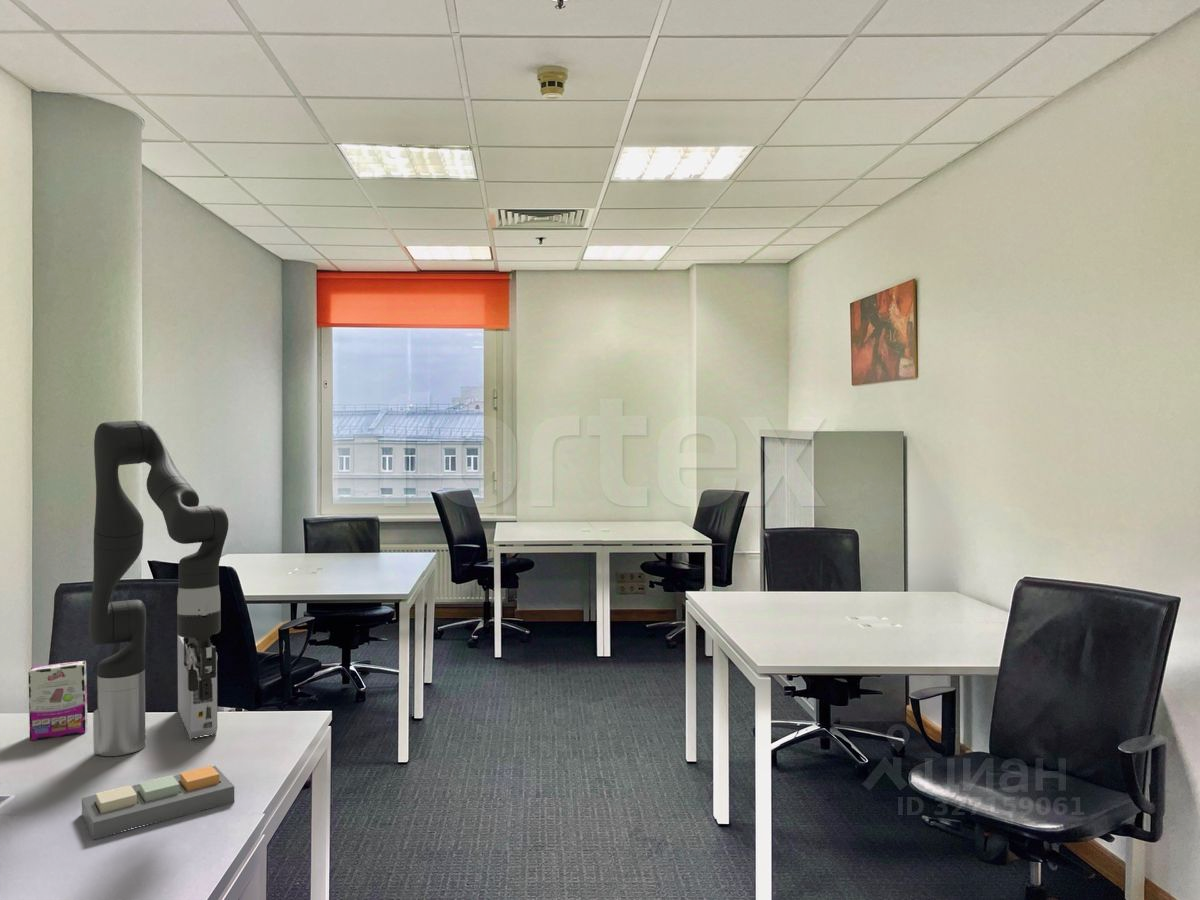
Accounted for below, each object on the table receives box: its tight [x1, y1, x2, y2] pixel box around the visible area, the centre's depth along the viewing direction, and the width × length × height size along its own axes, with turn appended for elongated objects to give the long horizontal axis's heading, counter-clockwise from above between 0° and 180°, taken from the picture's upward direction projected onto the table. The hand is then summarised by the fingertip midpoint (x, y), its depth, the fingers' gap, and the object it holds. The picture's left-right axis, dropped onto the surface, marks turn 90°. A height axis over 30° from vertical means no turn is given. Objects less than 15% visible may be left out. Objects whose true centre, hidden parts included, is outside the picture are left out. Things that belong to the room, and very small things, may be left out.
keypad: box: [81, 765, 235, 841], centre depth 151 cm, size 23×13×3 cm, turn 130°
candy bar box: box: [27, 660, 88, 742], centre depth 191 cm, size 11×5×16 cm, turn 117°
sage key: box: [139, 774, 179, 802], centre depth 151 cm, size 6×6×2 cm
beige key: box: [95, 784, 137, 813], centre depth 147 cm, size 6×6×2 cm
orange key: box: [179, 765, 219, 791], centre depth 156 cm, size 6×6×2 cm
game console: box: [177, 634, 218, 738], centre depth 198 cm, size 6×27×20 cm, turn 33°
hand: (199, 694), depth 156 cm, fingers open, 7 cm apart
